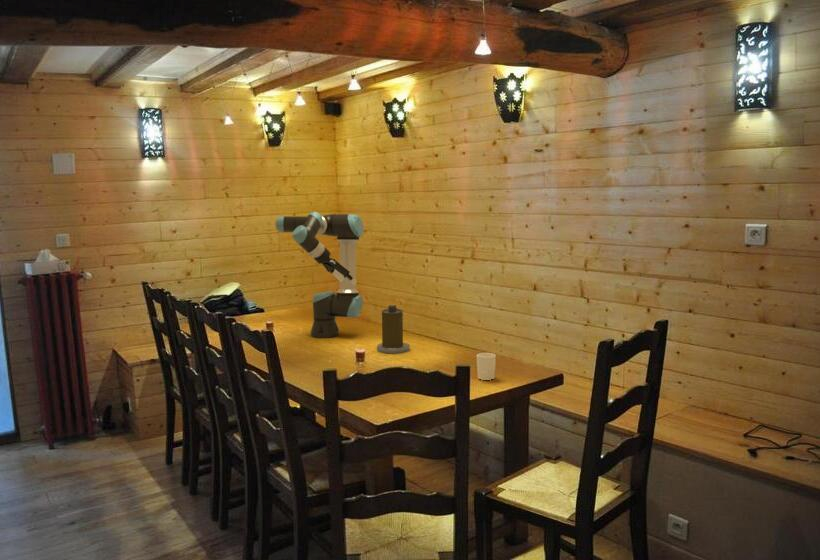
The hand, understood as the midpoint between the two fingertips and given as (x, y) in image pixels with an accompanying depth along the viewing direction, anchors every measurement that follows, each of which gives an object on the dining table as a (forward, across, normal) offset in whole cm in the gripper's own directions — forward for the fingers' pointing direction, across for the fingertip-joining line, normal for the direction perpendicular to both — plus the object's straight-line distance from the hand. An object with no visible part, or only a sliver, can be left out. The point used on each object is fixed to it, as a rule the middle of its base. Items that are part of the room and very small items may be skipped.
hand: (349, 281), depth 325 cm
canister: (+35, +11, -10) cm, 38 cm away
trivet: (+36, +11, -11) cm, 40 cm away
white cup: (+41, +75, -6) cm, 86 cm away
